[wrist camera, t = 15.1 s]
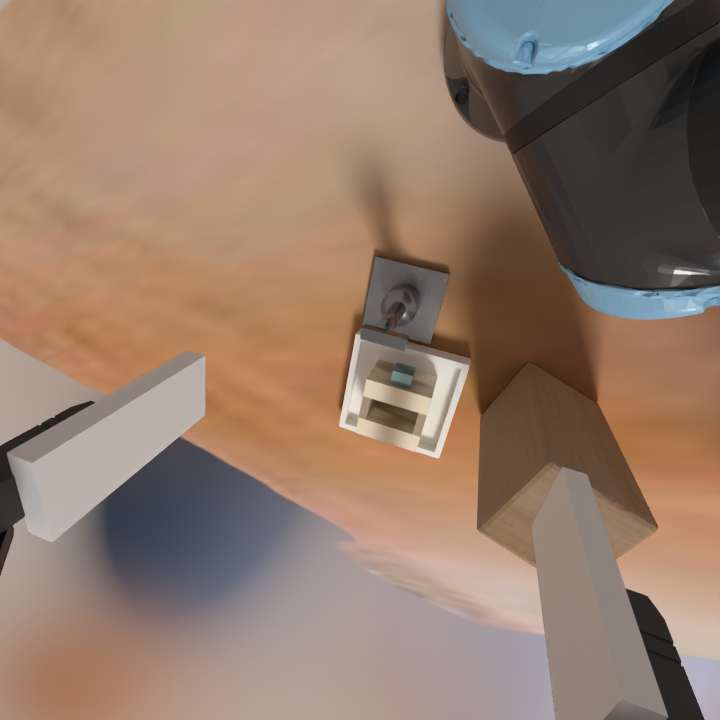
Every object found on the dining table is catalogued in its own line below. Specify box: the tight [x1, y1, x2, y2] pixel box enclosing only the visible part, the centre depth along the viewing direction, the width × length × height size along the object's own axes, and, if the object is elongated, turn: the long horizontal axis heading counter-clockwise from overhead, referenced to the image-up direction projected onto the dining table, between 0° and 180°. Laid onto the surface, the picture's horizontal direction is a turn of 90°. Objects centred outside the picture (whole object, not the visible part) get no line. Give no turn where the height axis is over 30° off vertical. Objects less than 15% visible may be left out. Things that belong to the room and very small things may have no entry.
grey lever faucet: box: [360, 256, 450, 351], centre depth 44 cm, size 9×9×14 cm
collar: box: [355, 360, 438, 452], centre depth 52 cm, size 8×10×6 cm
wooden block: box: [477, 362, 658, 568], centre depth 42 cm, size 10×10×20 cm
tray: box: [339, 328, 471, 459], centre depth 54 cm, size 15×15×2 cm
